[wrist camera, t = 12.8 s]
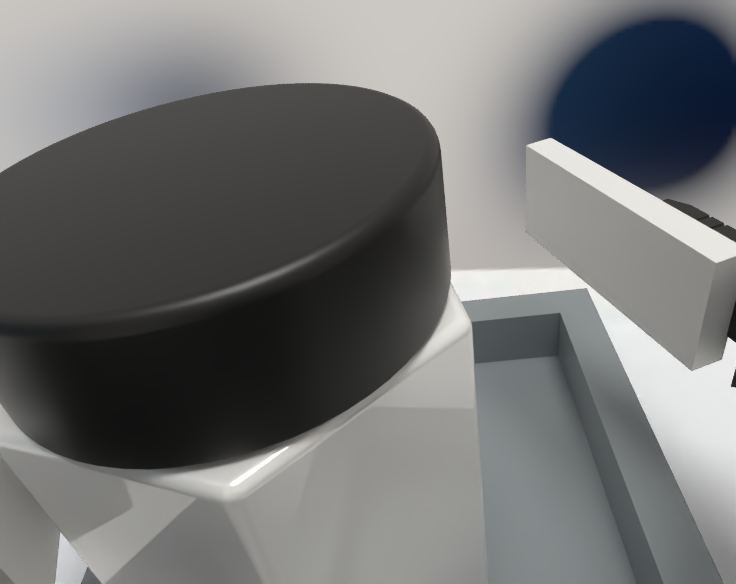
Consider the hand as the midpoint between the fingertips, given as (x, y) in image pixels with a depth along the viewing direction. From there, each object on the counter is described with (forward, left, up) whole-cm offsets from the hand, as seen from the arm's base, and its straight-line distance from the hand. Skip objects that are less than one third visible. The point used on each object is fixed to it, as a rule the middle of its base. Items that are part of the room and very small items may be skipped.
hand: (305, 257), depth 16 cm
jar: (0, -4, -8) cm, 9 cm away
